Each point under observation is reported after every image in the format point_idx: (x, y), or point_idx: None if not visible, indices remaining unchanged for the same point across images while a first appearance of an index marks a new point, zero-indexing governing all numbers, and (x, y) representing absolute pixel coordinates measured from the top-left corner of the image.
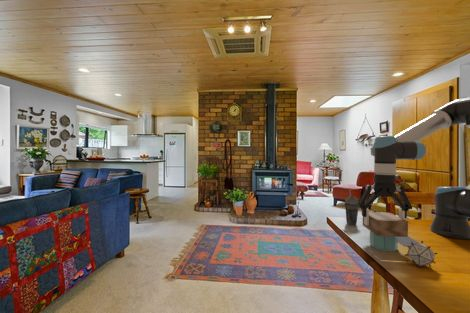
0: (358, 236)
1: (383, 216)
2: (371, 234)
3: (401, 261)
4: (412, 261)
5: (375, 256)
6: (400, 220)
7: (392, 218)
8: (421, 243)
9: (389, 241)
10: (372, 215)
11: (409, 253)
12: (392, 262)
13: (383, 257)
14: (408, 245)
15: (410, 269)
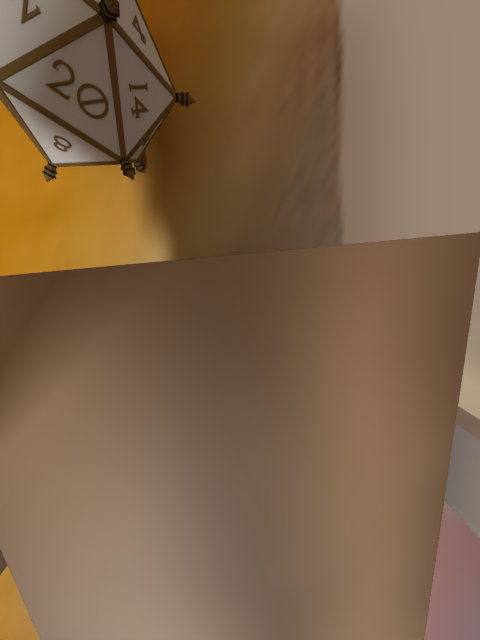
0: None
1: (245, 509)
2: None
3: (202, 162)
4: (142, 165)
5: (318, 206)
6: (29, 324)
7: (139, 429)
8: (4, 55)
9: None
10: (393, 519)
11: (163, 70)
12: (259, 135)
13: (280, 201)
14: None
15: (197, 46)
